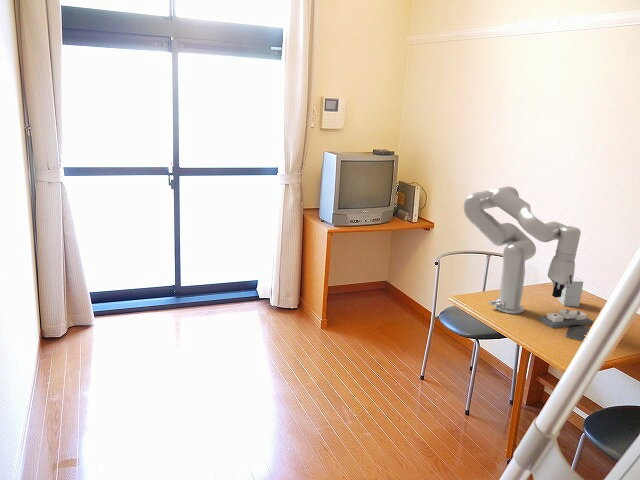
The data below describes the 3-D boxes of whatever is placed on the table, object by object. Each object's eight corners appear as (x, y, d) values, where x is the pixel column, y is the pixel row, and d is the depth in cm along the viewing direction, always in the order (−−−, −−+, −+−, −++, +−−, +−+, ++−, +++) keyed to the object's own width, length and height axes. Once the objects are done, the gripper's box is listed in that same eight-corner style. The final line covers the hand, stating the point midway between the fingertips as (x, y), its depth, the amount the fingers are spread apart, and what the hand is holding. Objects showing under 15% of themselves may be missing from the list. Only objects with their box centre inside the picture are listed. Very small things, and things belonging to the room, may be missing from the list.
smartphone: (589, 327, 211) (585, 340, 198) (589, 329, 212) (584, 342, 198) (570, 322, 215) (565, 335, 202) (570, 324, 215) (564, 337, 202)
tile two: (566, 318, 213) (567, 314, 213) (558, 314, 217) (559, 309, 217) (575, 317, 214) (575, 313, 214) (567, 313, 219) (568, 309, 218)
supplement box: (573, 301, 241) (577, 276, 238) (579, 307, 234) (584, 281, 231) (557, 300, 242) (561, 275, 238) (563, 305, 235) (567, 280, 231)
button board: (551, 327, 210) (552, 324, 210) (539, 320, 218) (539, 316, 217) (592, 323, 216) (593, 320, 215) (578, 316, 223) (579, 313, 223)
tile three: (577, 320, 215) (578, 315, 214) (569, 315, 219) (570, 311, 219) (586, 319, 216) (586, 314, 216) (578, 314, 221) (579, 310, 220)
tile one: (553, 322, 212) (554, 317, 211) (546, 317, 216) (547, 313, 216) (563, 321, 213) (563, 316, 212) (555, 317, 217) (556, 312, 217)
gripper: (545, 250, 213) (537, 290, 218) (570, 262, 199) (561, 304, 205) (560, 250, 215) (551, 289, 220) (586, 261, 201) (576, 303, 207)
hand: (556, 296), depth 212 cm, fingers closed
